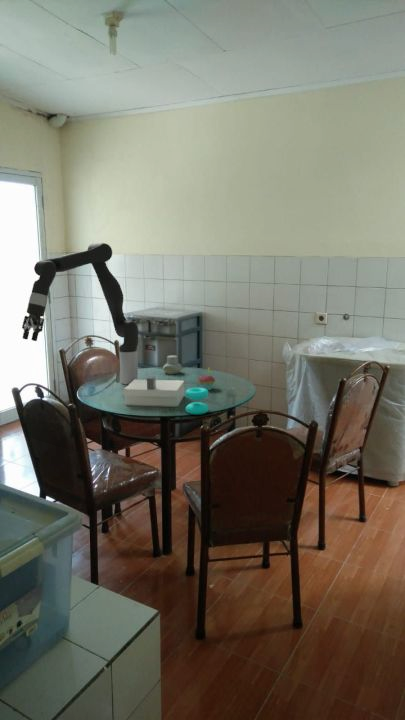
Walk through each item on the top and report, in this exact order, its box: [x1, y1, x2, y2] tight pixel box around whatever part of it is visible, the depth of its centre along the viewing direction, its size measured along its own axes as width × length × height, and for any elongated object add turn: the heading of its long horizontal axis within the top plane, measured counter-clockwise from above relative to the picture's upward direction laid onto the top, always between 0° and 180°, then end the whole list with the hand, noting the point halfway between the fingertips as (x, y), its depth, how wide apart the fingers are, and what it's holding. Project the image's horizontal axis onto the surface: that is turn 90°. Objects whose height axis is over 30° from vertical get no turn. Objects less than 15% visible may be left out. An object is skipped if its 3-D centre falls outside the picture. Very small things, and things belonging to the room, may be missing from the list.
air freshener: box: [162, 354, 183, 375], centre depth 293 cm, size 11×8×10 cm
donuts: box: [184, 387, 210, 416], centre depth 221 cm, size 10×10×10 cm
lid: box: [123, 376, 185, 397], centre depth 237 cm, size 18×24×8 cm
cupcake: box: [197, 367, 216, 391], centre depth 258 cm, size 9×8×12 cm
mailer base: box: [124, 382, 185, 408], centre depth 239 cm, size 17×24×7 cm
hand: (29, 339), depth 228 cm, fingers open, 8 cm apart
